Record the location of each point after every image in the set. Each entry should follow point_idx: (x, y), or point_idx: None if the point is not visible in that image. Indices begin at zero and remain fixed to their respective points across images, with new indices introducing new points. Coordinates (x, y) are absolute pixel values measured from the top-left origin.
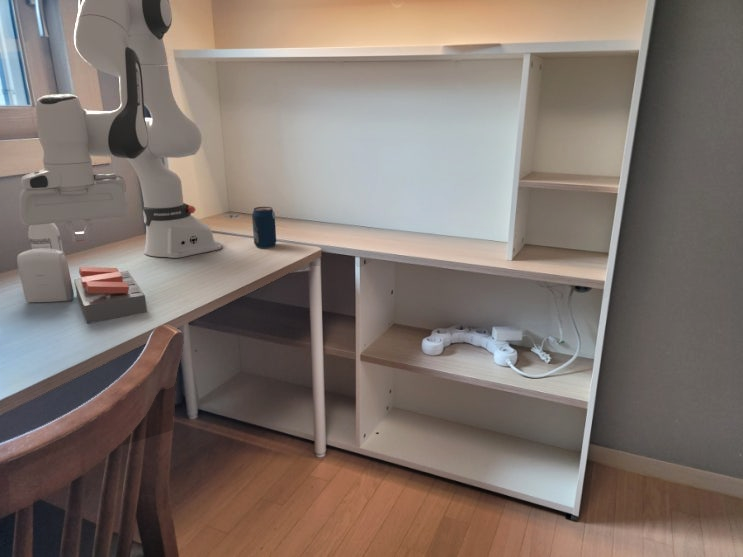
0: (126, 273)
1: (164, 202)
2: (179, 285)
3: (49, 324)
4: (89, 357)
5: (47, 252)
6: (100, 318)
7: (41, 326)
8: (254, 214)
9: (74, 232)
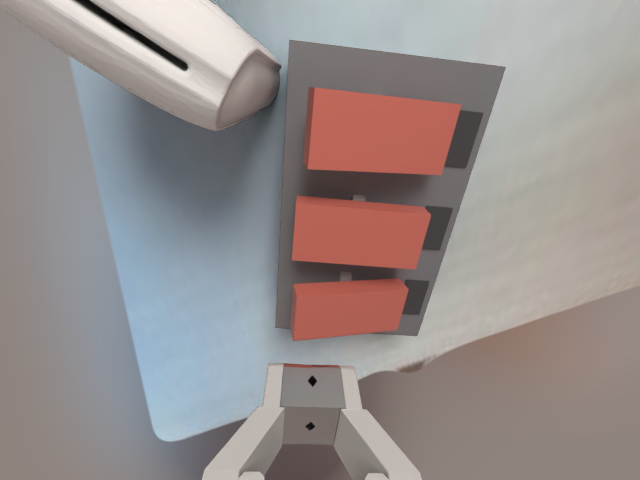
0: (477, 116)
1: None
2: (573, 174)
3: (204, 258)
4: None
5: (135, 77)
6: None
7: (187, 259)
8: None
9: (274, 458)
